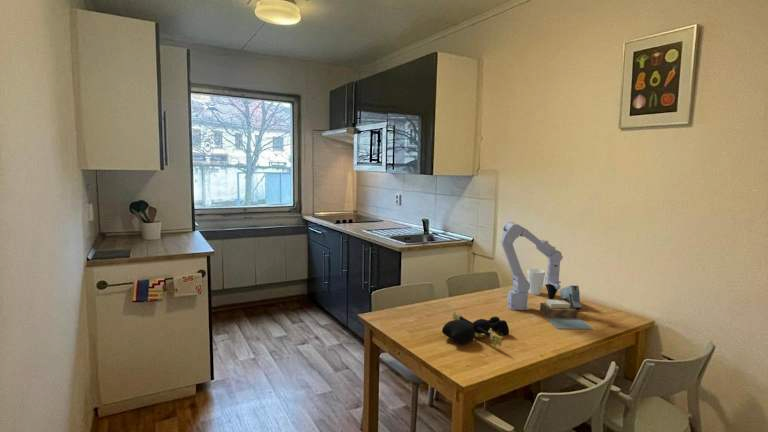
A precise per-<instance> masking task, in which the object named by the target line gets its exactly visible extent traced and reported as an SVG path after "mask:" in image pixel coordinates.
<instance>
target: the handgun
mask: <svg viewBox="0 0 768 432" xmlns="http://www.w3.org/2000/svg"><path fill="white" fill-rule="evenodd" d="M559 290H560V298H561V300H569V304H570V305H571V306H572V307H574V308H575V309H576V310H579V309H582V308H583V305H582V303H581V299H580V298H581V297H580V295H581V294H580V287H579V285H572V284H571V285H568V286H565V287H564V288H563V287H562V288H560V289H559Z"/></svg>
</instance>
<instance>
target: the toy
mask: <svg viewBox="0 0 768 432" xmlns="http://www.w3.org/2000/svg"><path fill="white" fill-rule="evenodd" d="M490 330H493V331H498V333H499V334H500V335H498V334H496V333H494V332H489V331H490ZM441 332H442V334H443V335H445V336H446V337H448V338H449V339H451V340H452V341H454V342H455V343H458V344H469V343H471V342H472V341H473V340H474V339H475V336H477V337H480V338H483V337H484V335H485V336H486V337H488V338H489V340H490V341H491V343H492V344H493V346H494V347H495V348H496V347H497V345H498V346H499V347H502V343H503V338H502V336H501V335H504V336H507V335H509V333H510V329H509V326H508V323H507V321H506V320H503V319H501V320H500V317H498V316H492V317H490V318H489V319H484V318H480V319H476V320H474V321H473V322H472V321H470V320H468V319H466V318H465V317H463V316H462V315H461V314H460V313H458V312H457V311H453V312H452V320H450V321H448V322H446V323H445V324H444V325H443V327H442V329H441ZM483 334H484V335H483Z"/></svg>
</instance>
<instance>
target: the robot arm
mask: <svg viewBox="0 0 768 432" xmlns="http://www.w3.org/2000/svg"><path fill="white" fill-rule="evenodd" d="M519 237H521V238H526V239H527V240H528V241H530V242H531V243H533V244H534V245H535V248H536V249H537V250H538V251H539V252H540V253H541V254H543V255H544V256H546V258H547V271H546V276H544V282H546V283H545V287H546V290H547V291H546V292H547V296H548V300H555V297H556V294H557V292H558V291H559V290H561V282H562V281H560V270H561V269H560V267H561V261H562V260H563V258H564V256H563V254H562V252H561V251H559V250H558V249H556V246H554V245H552V244H550V243H549V240H545V239H540V238H538V237H537V236H536V235H534V234H533V233H532V232H531V231H529V230H528V229H527V228H525V227H524V226H521V224H518V223H515V222H514V221H508V222H506V223H505V225H504V226H503V227H502V235H501V240H500V243H501V246H502V248H503V252H504V255H505V257H506V260H507V263H508V266H509V269H510V272H511V278H512V280H511V282H512V285H513V289H512V290H508V291H507V298H506V299H507V300H506V303H507V304H506V306H507V307H508V308H509V309H510V310H511V311H530V310H531V308H529V307H528V298H529V289H530V283H529V282H528V279H527V278H526V276H525V274H524V272H523V269H522V267H521V264H520V262H519V261H520V260H519V258H518V256H517V252H516V250H515V247H514V244H513V243H514V242H515V240H517V239H518V238H519Z"/></svg>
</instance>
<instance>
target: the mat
mask: <svg viewBox="0 0 768 432" xmlns="http://www.w3.org/2000/svg"><path fill="white" fill-rule="evenodd" d="M545 319H546V320H547V321H548V322H550V323H551V324H552V325H553V327H555V328H556V329H557V330H593V329H594V328H593V327H591V326H590V325H589V324H588V323H586V322H585V321H584V320H583V319H581V318H580V317H577V318H547V317H545Z"/></svg>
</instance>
